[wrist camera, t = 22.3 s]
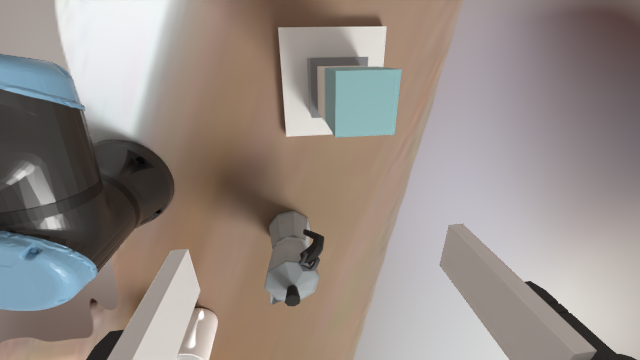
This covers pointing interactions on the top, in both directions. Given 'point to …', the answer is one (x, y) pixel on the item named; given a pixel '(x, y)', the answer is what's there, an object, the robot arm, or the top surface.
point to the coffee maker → (292, 259)
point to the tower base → (319, 47)
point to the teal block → (361, 100)
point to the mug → (198, 336)
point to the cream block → (323, 88)
